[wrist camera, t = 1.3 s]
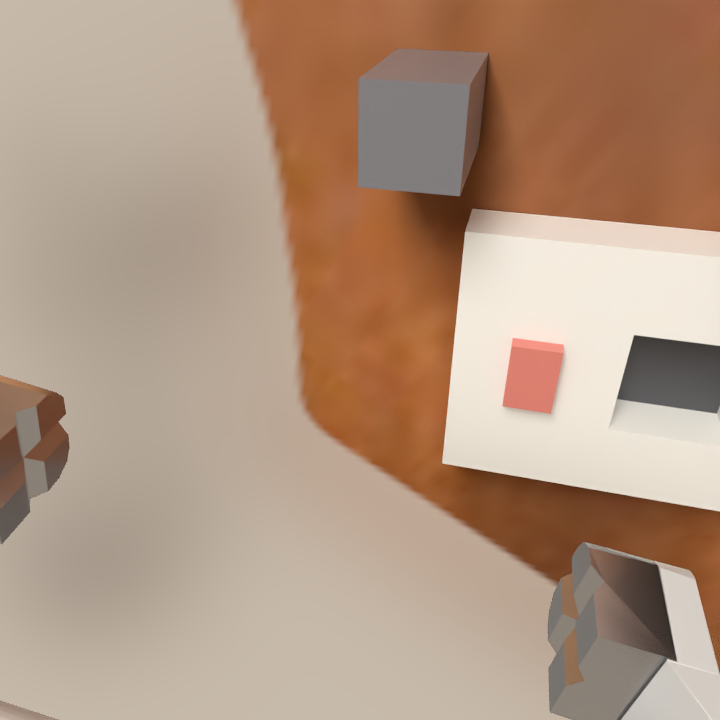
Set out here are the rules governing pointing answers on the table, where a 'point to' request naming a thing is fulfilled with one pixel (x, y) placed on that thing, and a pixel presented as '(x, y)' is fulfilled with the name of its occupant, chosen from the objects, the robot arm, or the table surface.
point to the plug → (420, 120)
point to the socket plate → (589, 356)
